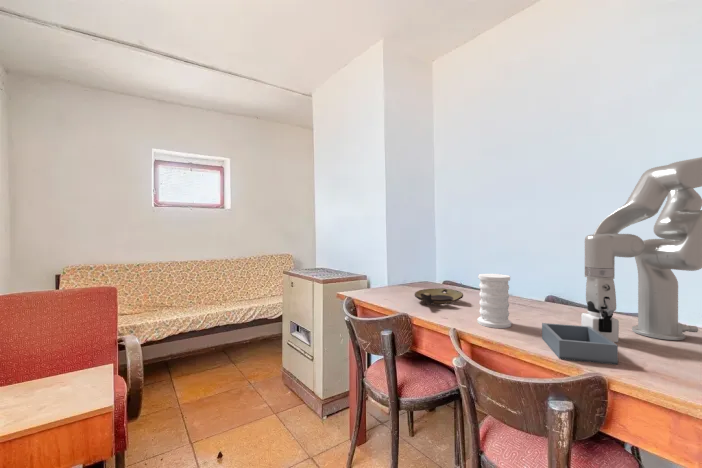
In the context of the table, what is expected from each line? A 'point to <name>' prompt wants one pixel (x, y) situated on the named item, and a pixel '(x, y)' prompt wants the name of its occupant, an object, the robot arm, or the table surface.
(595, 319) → the medicine bottle
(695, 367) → the table surface
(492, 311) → the decorative container
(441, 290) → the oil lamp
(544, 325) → the bin
